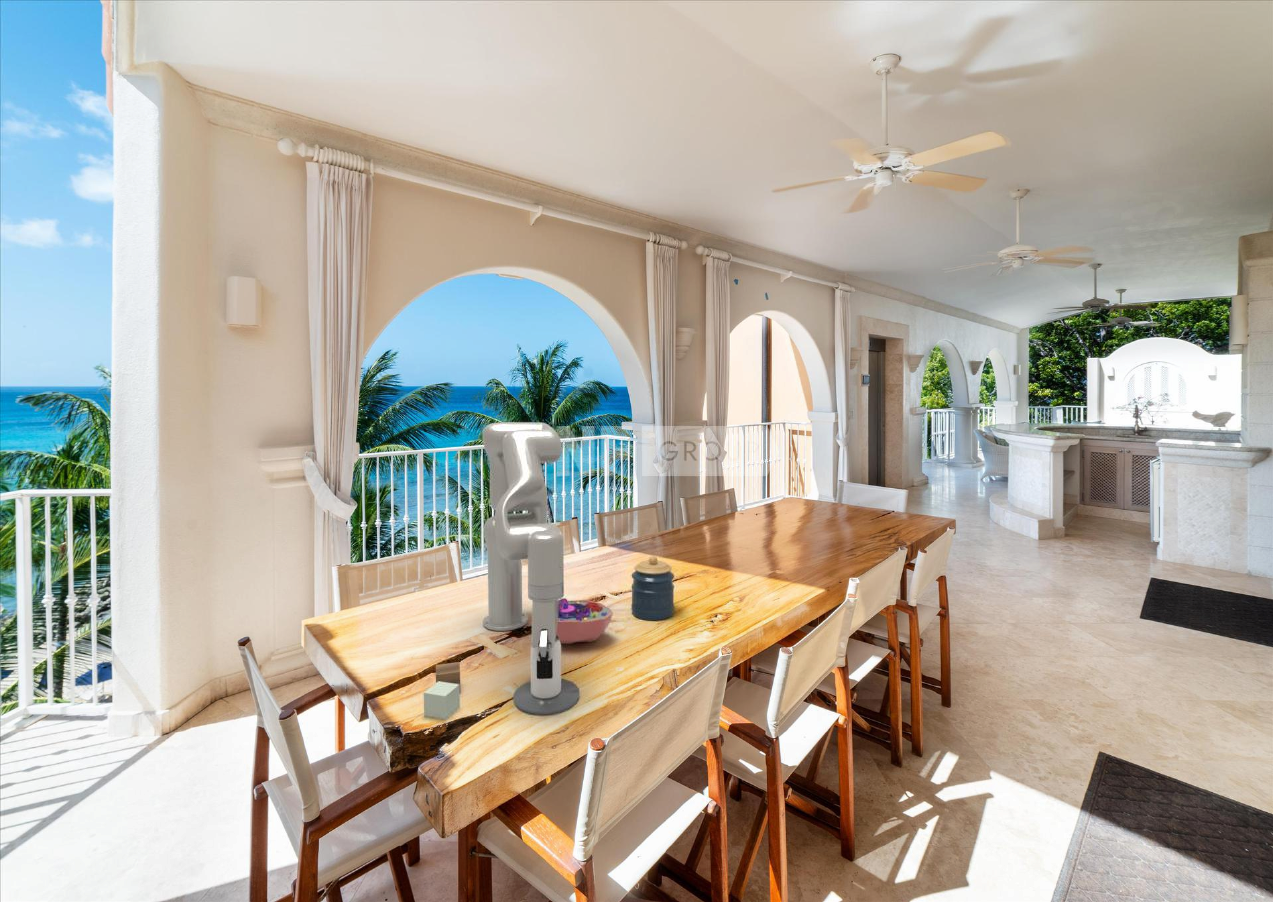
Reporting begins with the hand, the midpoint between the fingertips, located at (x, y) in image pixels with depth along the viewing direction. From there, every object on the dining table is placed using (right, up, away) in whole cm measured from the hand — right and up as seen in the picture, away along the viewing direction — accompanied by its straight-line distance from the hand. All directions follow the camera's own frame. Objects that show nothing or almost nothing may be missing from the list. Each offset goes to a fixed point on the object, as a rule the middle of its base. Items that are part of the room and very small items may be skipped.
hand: (546, 667), depth 122 cm
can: (0, -6, +1) cm, 6 cm away
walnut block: (-22, -6, +4) cm, 24 cm away
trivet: (0, -7, +1) cm, 7 cm away
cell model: (+3, -5, +30) cm, 31 cm away
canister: (+24, -3, +50) cm, 56 cm away
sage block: (-21, -7, -5) cm, 22 cm away
